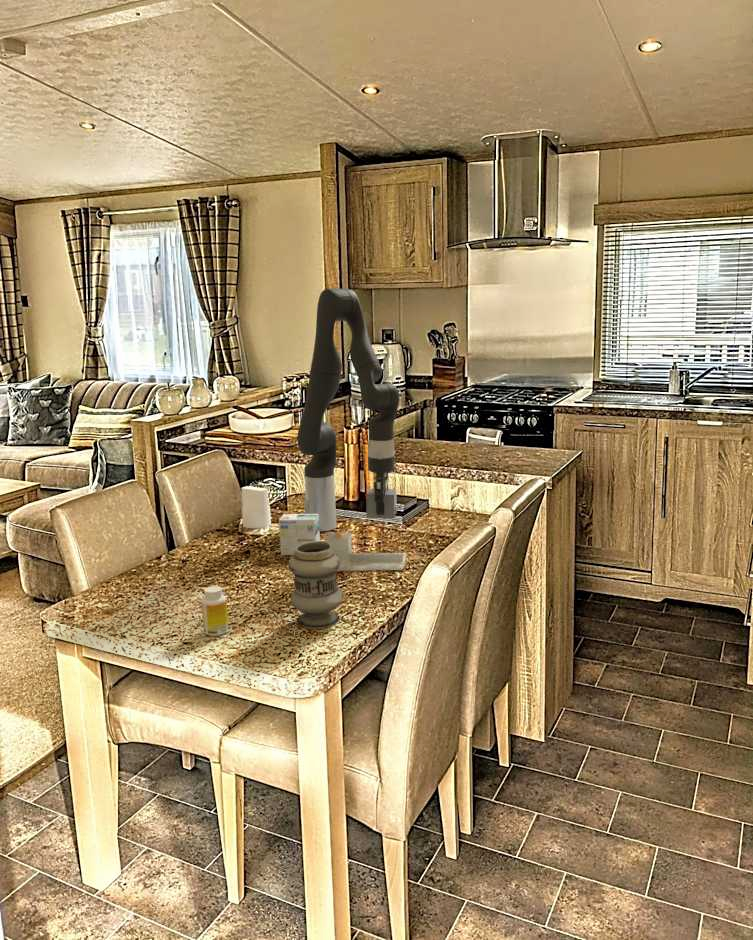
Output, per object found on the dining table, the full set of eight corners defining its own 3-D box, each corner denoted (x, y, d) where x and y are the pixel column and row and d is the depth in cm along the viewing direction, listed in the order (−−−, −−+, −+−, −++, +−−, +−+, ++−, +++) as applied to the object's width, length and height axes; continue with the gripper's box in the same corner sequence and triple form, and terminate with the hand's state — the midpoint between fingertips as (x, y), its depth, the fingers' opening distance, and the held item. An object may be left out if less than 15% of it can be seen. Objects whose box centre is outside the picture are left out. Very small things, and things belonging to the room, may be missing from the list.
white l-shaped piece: (322, 570, 230) (320, 540, 228) (329, 556, 241) (327, 527, 239) (403, 571, 227) (402, 540, 225) (406, 556, 239) (405, 527, 237)
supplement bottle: (233, 631, 192) (230, 588, 190) (213, 639, 188) (210, 595, 186) (218, 624, 196) (215, 582, 193) (198, 632, 192) (195, 589, 189)
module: (366, 517, 243) (366, 494, 241) (369, 511, 249) (369, 488, 247) (394, 518, 242) (394, 494, 240) (396, 512, 248) (396, 489, 246)
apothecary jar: (281, 621, 196) (276, 547, 192) (320, 606, 204) (317, 534, 200) (315, 636, 188) (311, 558, 184) (355, 619, 196) (351, 545, 192)
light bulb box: (321, 548, 249) (319, 512, 246) (317, 555, 242) (315, 519, 240) (285, 548, 250) (282, 513, 248) (280, 555, 243) (278, 519, 241)
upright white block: (276, 522, 277) (274, 486, 274) (258, 529, 269) (256, 493, 267) (255, 519, 282) (252, 484, 279) (237, 526, 274) (234, 490, 271)
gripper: (371, 448, 248) (371, 504, 252) (364, 459, 234) (365, 518, 238) (396, 449, 247) (397, 504, 251) (391, 460, 233) (392, 518, 237)
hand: (381, 511), depth 245 cm, fingers closed on module, 6 cm apart
